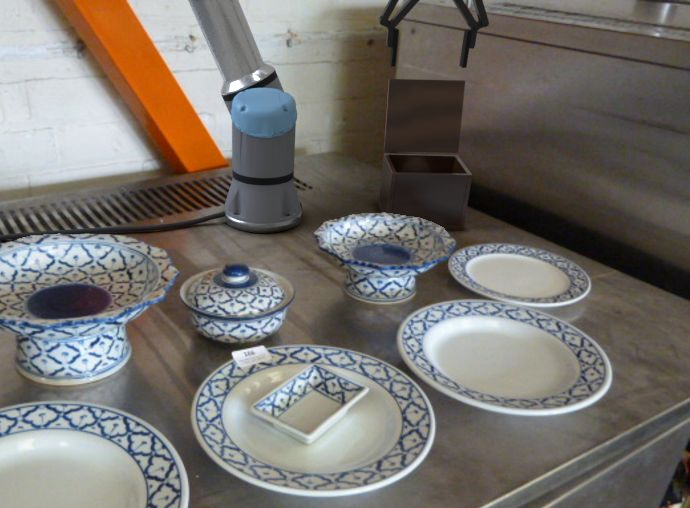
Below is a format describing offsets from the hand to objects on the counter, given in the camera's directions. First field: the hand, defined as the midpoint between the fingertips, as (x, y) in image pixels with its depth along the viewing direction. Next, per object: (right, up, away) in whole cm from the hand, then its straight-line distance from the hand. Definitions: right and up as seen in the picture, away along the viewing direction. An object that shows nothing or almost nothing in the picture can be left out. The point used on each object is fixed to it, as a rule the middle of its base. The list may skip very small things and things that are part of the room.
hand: (427, 66), depth 128 cm
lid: (0, -10, +1) cm, 10 cm away
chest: (-1, -29, +3) cm, 29 cm away
